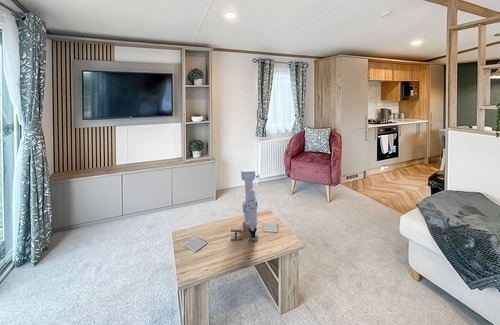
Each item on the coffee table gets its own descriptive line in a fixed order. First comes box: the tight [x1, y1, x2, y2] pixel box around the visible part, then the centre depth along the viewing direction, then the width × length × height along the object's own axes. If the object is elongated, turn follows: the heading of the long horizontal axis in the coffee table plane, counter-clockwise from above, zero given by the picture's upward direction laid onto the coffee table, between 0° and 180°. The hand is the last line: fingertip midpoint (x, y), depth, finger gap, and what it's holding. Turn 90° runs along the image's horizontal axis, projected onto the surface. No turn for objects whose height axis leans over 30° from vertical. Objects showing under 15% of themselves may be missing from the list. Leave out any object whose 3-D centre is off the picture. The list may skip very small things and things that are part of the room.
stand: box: [230, 228, 242, 241], centre depth 182 cm, size 5×7×7 cm
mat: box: [248, 235, 259, 242], centre depth 182 cm, size 6×6×1 cm
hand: (253, 235), depth 181 cm, fingers open, 6 cm apart
